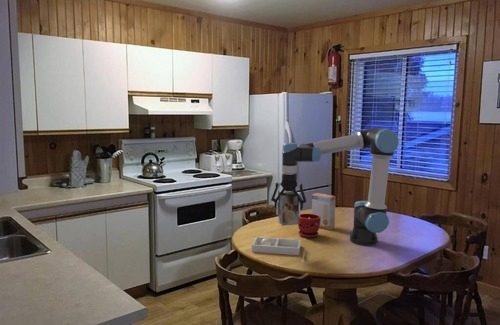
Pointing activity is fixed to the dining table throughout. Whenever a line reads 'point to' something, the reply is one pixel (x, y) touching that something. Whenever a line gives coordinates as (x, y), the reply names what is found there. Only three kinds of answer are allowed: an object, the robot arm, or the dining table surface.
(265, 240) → the egg
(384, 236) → the dining table surface
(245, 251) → the dining table surface
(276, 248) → the divided tray
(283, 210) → the coffee box
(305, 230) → the plant pot
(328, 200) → the cracker box
